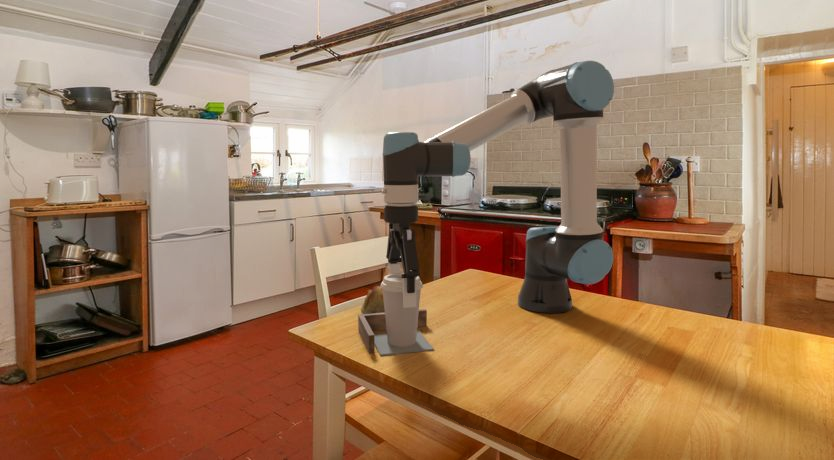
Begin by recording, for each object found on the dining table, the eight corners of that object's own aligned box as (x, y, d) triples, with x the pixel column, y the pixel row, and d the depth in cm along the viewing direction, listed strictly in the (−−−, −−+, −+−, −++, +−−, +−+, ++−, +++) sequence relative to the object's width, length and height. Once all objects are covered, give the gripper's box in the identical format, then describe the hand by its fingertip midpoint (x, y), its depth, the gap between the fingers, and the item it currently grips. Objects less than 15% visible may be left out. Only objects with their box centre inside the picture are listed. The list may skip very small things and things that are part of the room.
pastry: (352, 311, 132) (352, 283, 131) (392, 304, 138) (392, 277, 137) (374, 326, 120) (374, 295, 119) (417, 318, 126) (417, 288, 125)
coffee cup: (426, 335, 112) (426, 273, 110) (418, 351, 103) (418, 283, 101) (386, 332, 114) (386, 271, 112) (375, 347, 105) (375, 281, 103)
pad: (418, 331, 116) (418, 330, 116) (434, 350, 104) (434, 348, 104) (370, 336, 112) (370, 335, 112) (380, 355, 101) (380, 354, 101)
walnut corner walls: (425, 324, 121) (425, 309, 120) (444, 345, 107) (444, 328, 106) (358, 330, 116) (358, 314, 116) (369, 353, 102) (368, 335, 102)
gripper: (373, 200, 115) (374, 285, 118) (397, 210, 91) (398, 316, 94) (403, 199, 117) (404, 283, 120) (435, 209, 93) (434, 313, 96)
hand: (401, 298), depth 107 cm, fingers open, 13 cm apart
